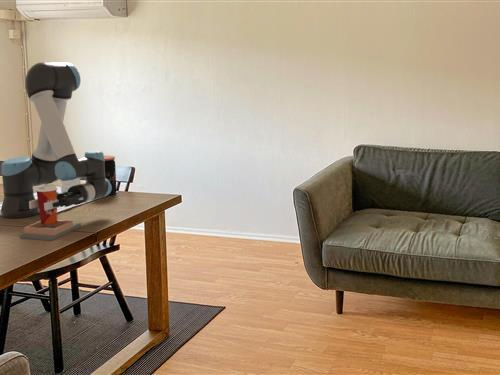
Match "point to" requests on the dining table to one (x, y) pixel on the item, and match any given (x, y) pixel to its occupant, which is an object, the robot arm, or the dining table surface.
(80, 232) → the dining table surface
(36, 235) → the cup stand
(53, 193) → the paper cup
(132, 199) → the dining table surface
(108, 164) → the coffee jar
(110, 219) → the dining table surface
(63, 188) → the cylinder with rectangular tab
